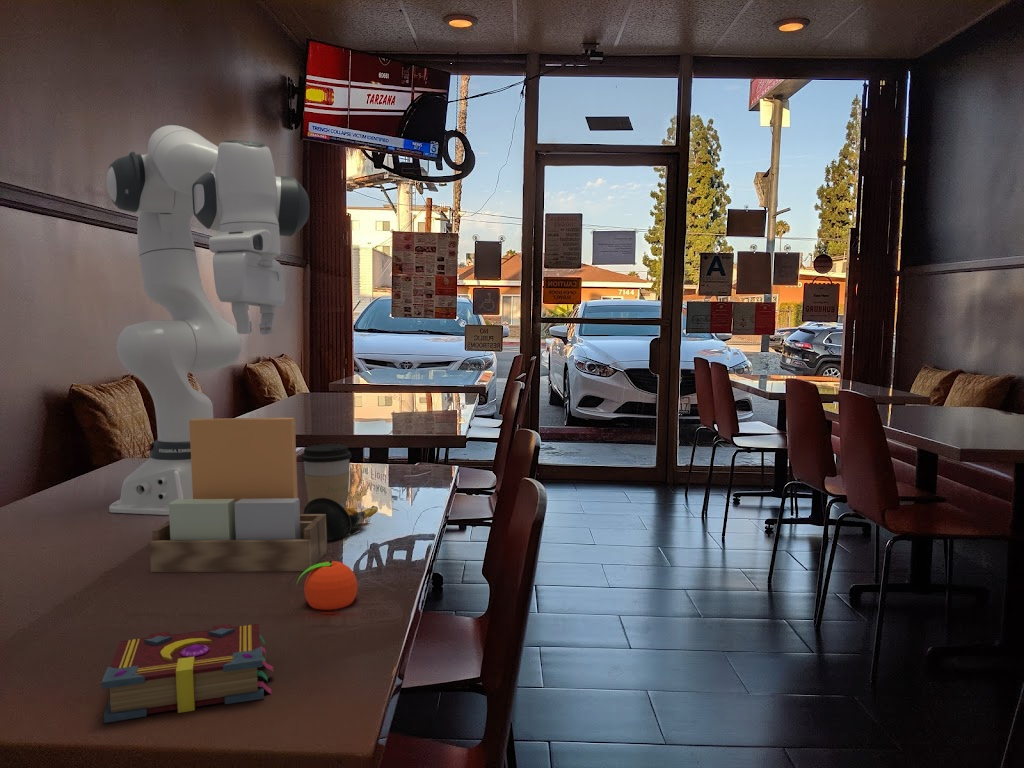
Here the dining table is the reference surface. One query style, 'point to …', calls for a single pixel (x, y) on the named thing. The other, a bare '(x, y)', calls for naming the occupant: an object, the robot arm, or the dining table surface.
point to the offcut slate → (267, 519)
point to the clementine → (330, 586)
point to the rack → (240, 551)
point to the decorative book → (185, 671)
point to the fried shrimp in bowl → (338, 517)
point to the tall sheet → (243, 458)
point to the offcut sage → (202, 519)
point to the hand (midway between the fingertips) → (256, 334)
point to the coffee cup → (327, 472)
